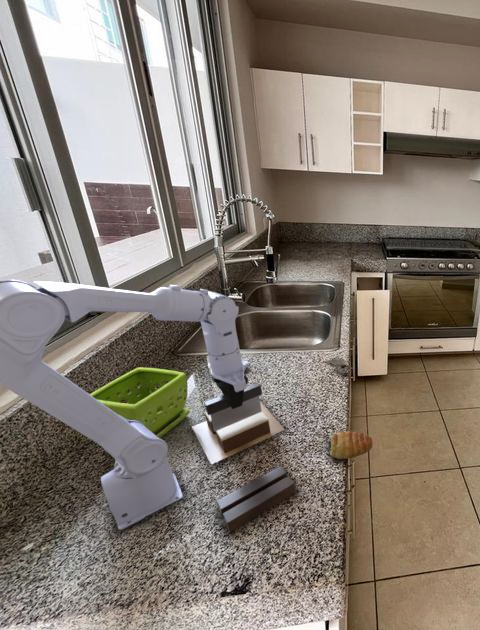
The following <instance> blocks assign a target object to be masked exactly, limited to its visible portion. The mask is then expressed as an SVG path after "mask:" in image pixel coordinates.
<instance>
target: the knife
mask: <svg viewBox="0 0 480 630" xmlns="http://www.w3.org/2000/svg"><path fill="white" fill-rule="evenodd" d="M246 387H247V389H244V395H243V404H242V406H240V407H237V408H235V409H232V408H231V406H230V405H229V403H228V400H227V398H226V396H225V395H223V394H222V395H219V396H217V397H214V398H212V399H209V400H207V401H204V402H203V404H204V408H205V409H204V410H205V411H206V412H207V414H208V415H211V419H212V424H213V428H214V431H217V430H220V429H222V428H224V427H227V426H229V425H232V424H234V423H236V422H239V421H241V420H243V419H246V418H248V417H251V416H253V415H255V414H258V413H260V412H262V410H261V404H260V401H261V399H260V396H262V395H263V392H262V390H263V389H262V385H261V383H259V382H256V383H253V384H250V385H246Z"/></svg>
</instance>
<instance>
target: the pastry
mask: <svg viewBox="0 0 480 630" xmlns="http://www.w3.org/2000/svg"><path fill="white" fill-rule="evenodd" d="M330 442H331V443H330V451H329V455H330V456H331V457H332V458H335V459H337V460H342V459H345V460H347V459H352V458H356V457H360V456H362V455H365V454H367V453H369V451H371V450H372V448H373V438H372V437H371V436H370V435H368V434H366V433H364V432H358V431H356V430H355V431H351V430H347V431H344V430H340V431H339V432H337V433H332V434H331V438H330Z"/></svg>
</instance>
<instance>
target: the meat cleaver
mask: <svg viewBox="0 0 480 630" xmlns="http://www.w3.org/2000/svg"><path fill="white" fill-rule="evenodd" d="M328 363H330V364H333V365H334V366H335V367H336V368H337V371H338V373H340V375H342V376H346V375H347V374H348V373H347V372H346V371H345V370H344V369H343V367H344V366H347V364H346V363H345V362H344V361H342V360H341V359H339V358H338V357H337V358H333V359H330V360H329V361H328Z"/></svg>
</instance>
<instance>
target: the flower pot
mask: <svg viewBox="0 0 480 630" xmlns="http://www.w3.org/2000/svg"><path fill="white" fill-rule="evenodd" d="M165 382H167V383H165ZM138 384H139V385H138ZM137 385H138V387H137ZM157 385H159V386H160V388H157ZM188 388H189V387H188V376H187V374H186V373H185V372H182V371H176V370H170V369H163V368H154V367H140V366H139V367H136V368H134V369H133V370H130V371H128V372H126V373H124V374H123V375H121V376H119V377H117V378H116V379H114V380H111V382H109V383H107V384H105V385H104V386H101V387H100V388H98V389H96V390H95V391H93V392H91V393H89V394H90V395H91V396H93V397H94V398H95V399H97V400H98V401H100V402H101V403H102V404H104V405H105V406H107V407H108V408H109V409H111V410H112V411H114V412H115V413H116V414H118V415H120V416H122V417H123V418H125V419H127V420H136V421H139V422H141V423H143V424H144V425H145V427H146V428H147V429H148V430H150V431H151V432H152V433H153V434H154V435H156V436H157V437H158V438H160V439H161V438H162V437H163V436H164V435H165V434H167V433H169V431H171V430H172V429H173V428H175V427H176V426H177V425H178V424H179V423H181V422H182V421H183V420H184V419H186V417H188V416H189V413H190V411H191V409H189V408H185V406H186V403H187V400H188ZM128 390H129V392H128ZM151 390H152V391H151ZM122 399H123V400H126V403H125V402H124V403H123V402H121V401H122Z"/></svg>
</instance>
